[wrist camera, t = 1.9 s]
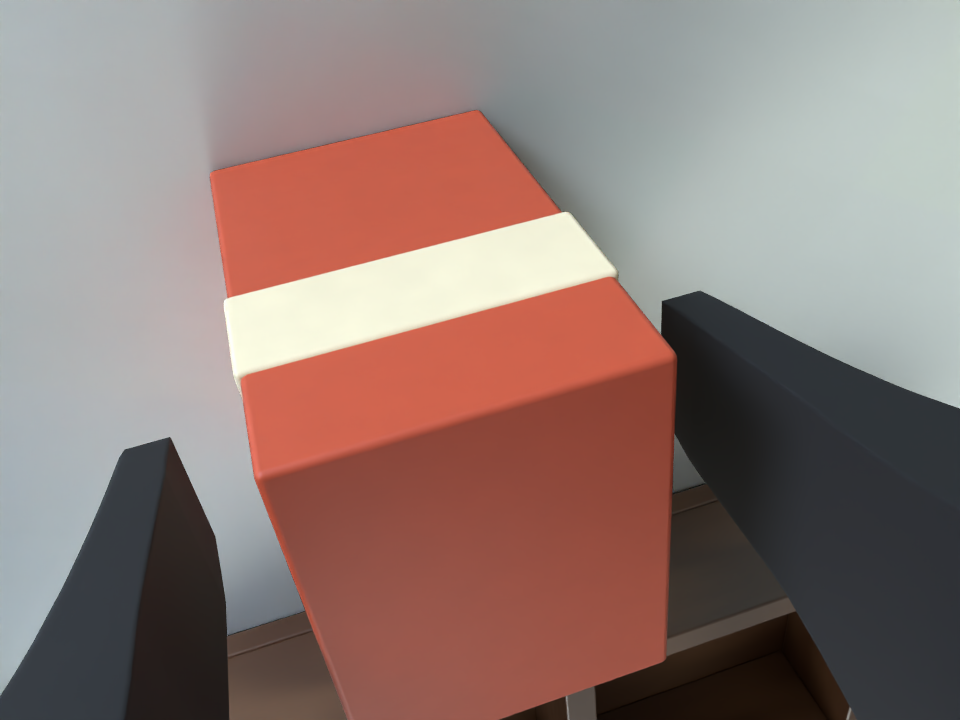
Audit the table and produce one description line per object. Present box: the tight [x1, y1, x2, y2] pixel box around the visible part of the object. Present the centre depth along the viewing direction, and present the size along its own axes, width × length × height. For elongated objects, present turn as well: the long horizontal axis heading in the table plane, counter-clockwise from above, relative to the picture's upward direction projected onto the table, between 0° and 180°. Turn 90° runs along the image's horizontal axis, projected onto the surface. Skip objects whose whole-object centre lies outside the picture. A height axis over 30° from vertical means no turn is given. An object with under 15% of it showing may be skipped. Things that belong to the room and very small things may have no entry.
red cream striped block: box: [210, 110, 677, 720], centre depth 13 cm, size 4×6×7 cm
